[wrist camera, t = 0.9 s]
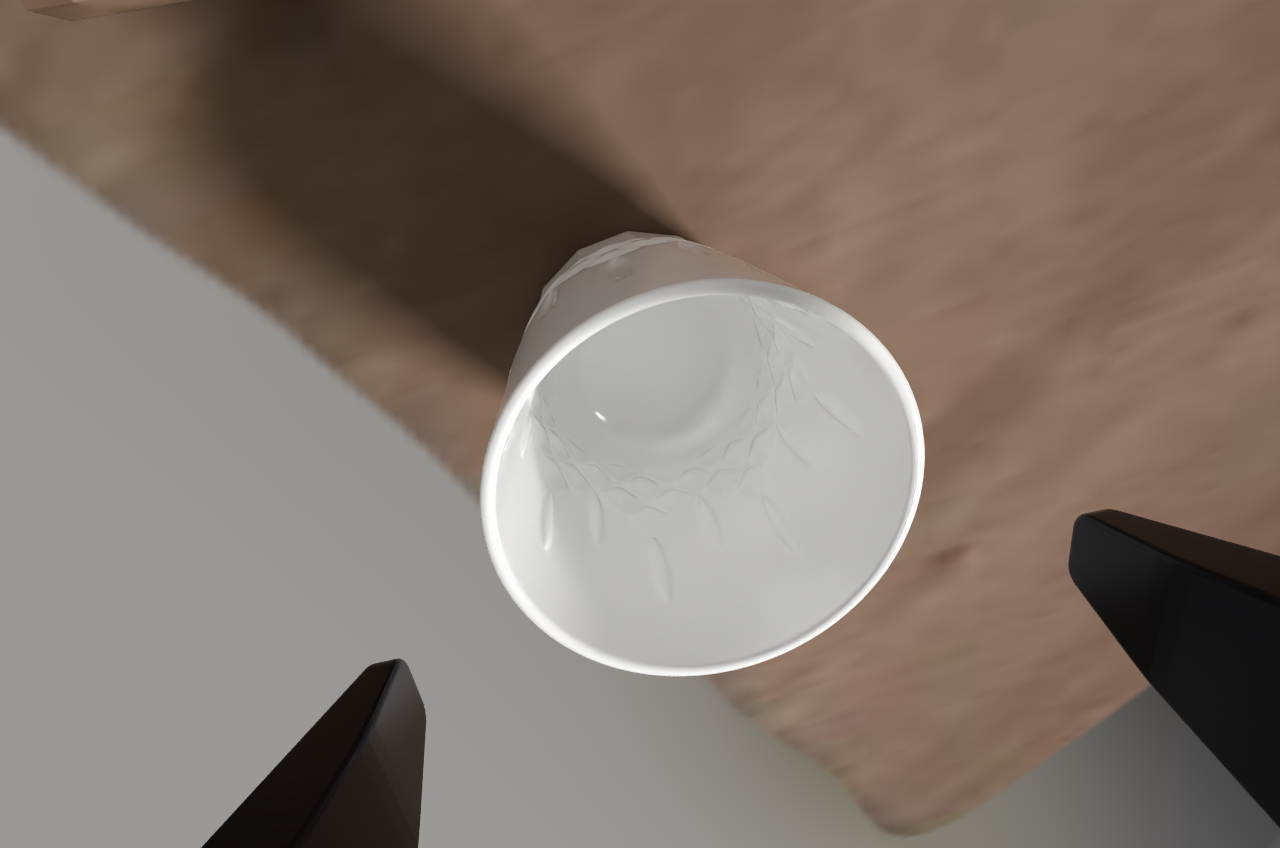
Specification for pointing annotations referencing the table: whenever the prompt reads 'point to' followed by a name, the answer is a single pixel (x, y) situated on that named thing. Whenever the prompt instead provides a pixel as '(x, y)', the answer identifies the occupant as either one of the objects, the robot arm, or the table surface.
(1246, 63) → the table surface
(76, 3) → the rail corral
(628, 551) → the white cup
